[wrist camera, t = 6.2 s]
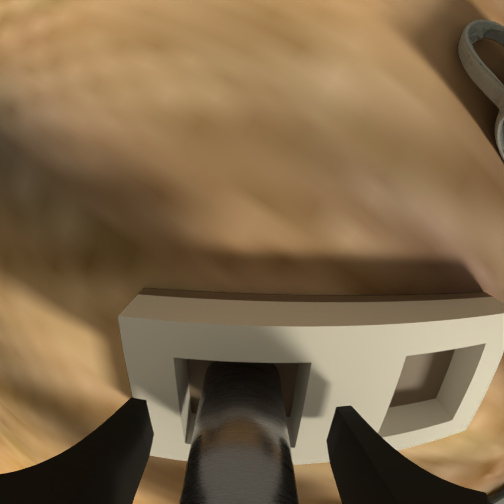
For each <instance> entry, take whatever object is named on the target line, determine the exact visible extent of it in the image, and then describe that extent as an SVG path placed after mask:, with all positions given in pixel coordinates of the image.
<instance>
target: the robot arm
mask: <svg viewBox="0 0 504 504" xmlns="http://www.w3.org/2000/svg"><path fill="white" fill-rule="evenodd" d="M153 437H154V432H153V428H152V424H151V419H150V415H149V411H148V406H147V401H146V400H143V399H137V398H130V399H129V400H128V401H127V402H126V403H125V404H124V405H123V406H122V407H121V408H119V409H118V410H117V411H116V412H115V413H114V414H113V415H112V416H111V417H110V418H109V419H107V420H106V421H105V422H104V423H103V424H102V425H100V426H99V427H98V428H97V429H96V430H94V431H93V432H92V433H91V434H89V435H88V436H87V437H85V438H84V439H83V440H81V441H80V442H78V443H77V444H75V445H74V446H72V447H71V448H69V449H68V450H66V451H64V452H63V453H61V454H59V455H57V456H55V457H53V458H51V459H48V460H46V461H44V462H42V463H39V464H37V465H34V466H31V467H28V468H25V469H22V470H18V471H15V472H10V473H5V474H0V504H132V503H133V500H134V497H135V494H136V491H137V488H138V485H139V483H140V480H141V477H142V475H143V472H144V469H145V466H146V464H147V461H148V458H149V455H150V451H151V447H152V442H153ZM326 441H327V448H328V455H329V461H330V464H331V468H332V471H333V475H334V478H335V481H336V484H337V488H338V491H339V494H340V498H341V501H342V504H492V503H491V501H490V499H489V498H488V496H487V494H486V493H484V492H480V491H476V490H472V489H468V488H464V487H461V486H459V485H456V484H453V483H450V482H448V481H446V480H443V479H441V478H439V477H437V476H435V475H433V474H431V473H429V472H427V471H426V470H424V469H422V468H421V467H419V466H418V465H416V464H415V463H413V462H411V461H410V460H408V459H407V458H406V457H404V456H403V455H402V454H401V453H399V452H398V451H397V450H396V449H394V448H393V447H392V446H391V445H390V444H389V443H388V442H386V441H385V440H384V439H383V438H382V437H381V436H380V435H379V434H378V433H377V432H376V431H375V430H374V429H373V428H372V427H371V426H370V425H369V424H368V423H367V422H366V421H365V420H364V419H363V418H362V417H361V415H360V414H359V413H358V412H357V411H356V410H355V409H354V408H353V407H352V406H340V407H336V409H335V413H334V416H333V420H332V423H331V427H330V430H329V433H328V437H327V440H326Z"/></svg>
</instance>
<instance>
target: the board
mask: <svg viewBox="0 0 504 504" xmlns="http://www.w3.org/2000/svg"><path fill="white" fill-rule="evenodd" d="M118 321H119V328H120V334H121V341H122V346H123V352H124V358H125V363H126V368H127V373H128V378H129V382H130V387H131V391H132V396H133V398H137V399H143V400H146V401H147V406H148V411H149V415H150V419H151V424H152V428H153V432H154V437H153V442H152V447H151V451H150V456H155V457H161V458H168V459H174V460H182V461H188V456H189V451H190V446H191V440H192V435H193V430H194V425H195V420H196V415H197V411H198V406H199V401H200V396H201V391H202V386H203V381H204V377H205V373H206V370H207V368H208V366H209V365H210V364H211V363H212V362H213V361H229V362H256V363H273V364H274V365H275V366H276V368H277V370H278V372H279V375H280V380H281V387H282V393H283V400H284V407H285V413H286V420H287V427H288V433H289V440H290V447H291V454H292V461H293V465H299V464H313V463H324V462H330V461H329V455H328V448H327V441H326V440H327V437H328V433H329V430H330V427H331V423H332V420H333V416H334V413H335V409H336V407H340V406H352V407H353V408H354V409H355V410H356V411H357V412H358V413H359V414H360V415H361V417H362V418H363V419H364V420H365V421H366V422H367V423H368V424H369V425H370V426H371V427H372V428H373V429H374V430H375V431H376V432H377V433H378V434H379V435H380V436H381V437H382V438H383V439H384V440H385V441H386V442H388V443H389V444H390V445H391V446H392V447H393V448H394V449H396V450H401V449H405V448H409V447H413V446H417V445H421V444H424V443H428V442H431V441H435V440H438V439H441V438H444V437H447V436H450V435H453V434H456V433H459V432H462V431H464V430H466V429H467V427H468V425H469V424H470V422H471V420H472V418H473V416H474V415H475V413H476V411H477V409H478V407H479V405H480V403H481V401H482V399H483V397H484V395H485V393H486V391H487V389H488V387H489V385H490V383H491V381H492V378H493V376H494V374H495V372H496V369H497V367H498V365H499V362H500V360H501V357H502V355H503V352H504V303H503V302H501V301H499V300H498V299H496V298H494V297H492V296H491V295H489V294H487V293H485V292H475V293H453V294H424V295H277V294H245V293H221V292H200V291H182V290H166V289H151V288H143V289H142V290H141V291H140V292H139V294H138V295H137V296H136V297H135V298H134V299H133V300H132V301H131V302H130V303H129V304H128V305H127V306H126V307H125V309H124V310H123V311H122V312H121V313H120V314H119V315H118Z"/></svg>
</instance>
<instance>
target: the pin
mask: <svg viewBox="0 0 504 504" xmlns="http://www.w3.org/2000/svg"><path fill="white" fill-rule="evenodd" d="M180 504H299V502H298V495H297V488H296V481H295V474H294V467H293V461H292V454H291V447H290V440H289V433H288V427H287V420H286V413H285V407H284V400H283V393H282V387H281V380H280V375H279V372H278V370H277V368H276V366H275V365H274V364H273V363H256V362H229V361H213V362H212V363H211V364H210V365H209V366H208V368H207V370H206V373H205V377H204V381H203V386H202V391H201V396H200V401H199V406H198V411H197V415H196V420H195V425H194V430H193V435H192V440H191V446H190V451H189V456H188V461H187V466H186V472H185V477H184V482H183V487H182V493H181V498H180Z"/></svg>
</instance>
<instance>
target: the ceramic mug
mask: <svg viewBox="0 0 504 504" xmlns="http://www.w3.org/2000/svg"><path fill="white" fill-rule="evenodd" d="M483 37H484V38H488V39H491V40H493V41H495V42H497V43H499V44H501V45H503V46H504V26H502V25H500V24H498V23H496V22H493V21H488V20H474V21H472V22H470V23H469V24H468V25H467V26H466V27H465V28H464V29H463V32H462V35H461V38H460V41H459V44H458V54H459V58H460V60H461V63H462V65H463V67H464V69H465V71H466V72H467V74H468V75H469V77H470V78H471V79H472V81H473V82H474V83H475V84H476V85H477V86H478V87H479V88H480V90H481V91H482V92H483V93H484V94H485V95H486V96H487V97H488V98H489V99H490V100H491V101H492V102H493V103H494V104H495V105H496V106H497V107H498V108H499V113H498V116H497V119H496V122H495V140H496V145H497V147H498V150H499V153H500V155H501V157H502V159H503V161H504V85H503V84H502V83H501V81H500V80H499V79H498V78H497V77H496V76H495V75H494V73H493V72H492V71H491V70H490V69H489V68H488V67H487V66H486V65H485V64H484V63H483V61H482V60H481V59H480V57H479V56H478V55H477V53H476V52H475V50H474V47H473V44H474V43H475V42H476V41H480V40H482V38H483Z"/></svg>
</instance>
